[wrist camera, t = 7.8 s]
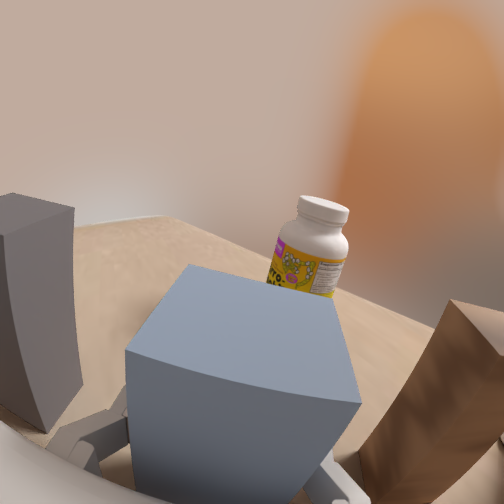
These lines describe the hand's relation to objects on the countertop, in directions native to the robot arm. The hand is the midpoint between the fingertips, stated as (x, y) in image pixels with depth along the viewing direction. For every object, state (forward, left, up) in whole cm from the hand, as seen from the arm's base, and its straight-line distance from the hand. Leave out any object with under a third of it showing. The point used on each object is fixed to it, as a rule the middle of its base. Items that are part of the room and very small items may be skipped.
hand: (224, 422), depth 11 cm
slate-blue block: (+1, +1, -7) cm, 7 cm away
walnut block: (-9, +8, -7) cm, 14 cm away
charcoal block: (+6, -11, -7) cm, 14 cm away
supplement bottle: (-18, -9, -7) cm, 22 cm away
